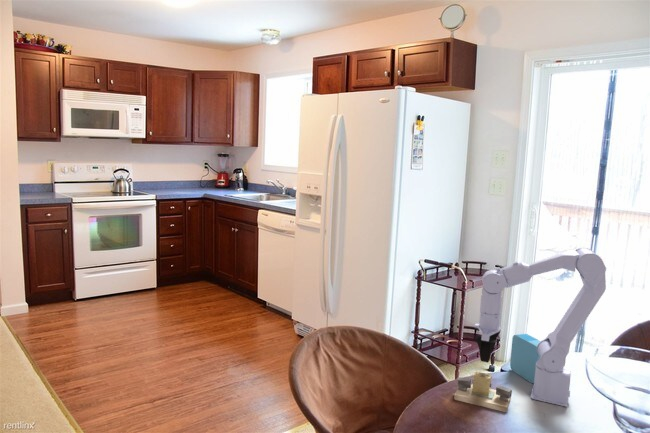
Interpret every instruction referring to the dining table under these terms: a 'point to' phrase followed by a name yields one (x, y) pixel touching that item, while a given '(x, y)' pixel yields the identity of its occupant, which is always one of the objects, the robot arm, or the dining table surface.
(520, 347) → the light blue flat block
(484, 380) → the coupler
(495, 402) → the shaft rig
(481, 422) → the dining table surface
